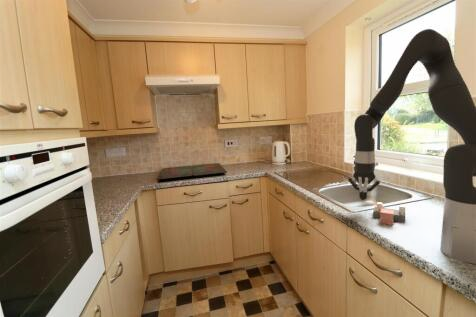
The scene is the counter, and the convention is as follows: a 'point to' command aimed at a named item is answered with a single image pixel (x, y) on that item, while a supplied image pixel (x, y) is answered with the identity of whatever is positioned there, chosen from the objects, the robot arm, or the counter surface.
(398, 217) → the dark grey flat block
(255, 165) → the counter surface
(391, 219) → the pink cube
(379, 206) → the breaker tagged
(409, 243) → the counter surface
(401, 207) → the breaker plain
